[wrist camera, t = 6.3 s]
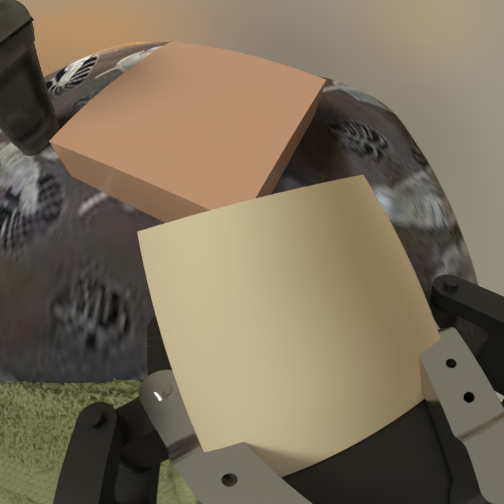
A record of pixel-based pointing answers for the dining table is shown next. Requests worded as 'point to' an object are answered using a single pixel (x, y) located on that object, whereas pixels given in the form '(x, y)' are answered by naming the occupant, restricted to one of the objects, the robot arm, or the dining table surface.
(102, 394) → the washcloth
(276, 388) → the birch block
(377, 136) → the dining table surface
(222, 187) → the terracotta plinth
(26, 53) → the beverage cup
